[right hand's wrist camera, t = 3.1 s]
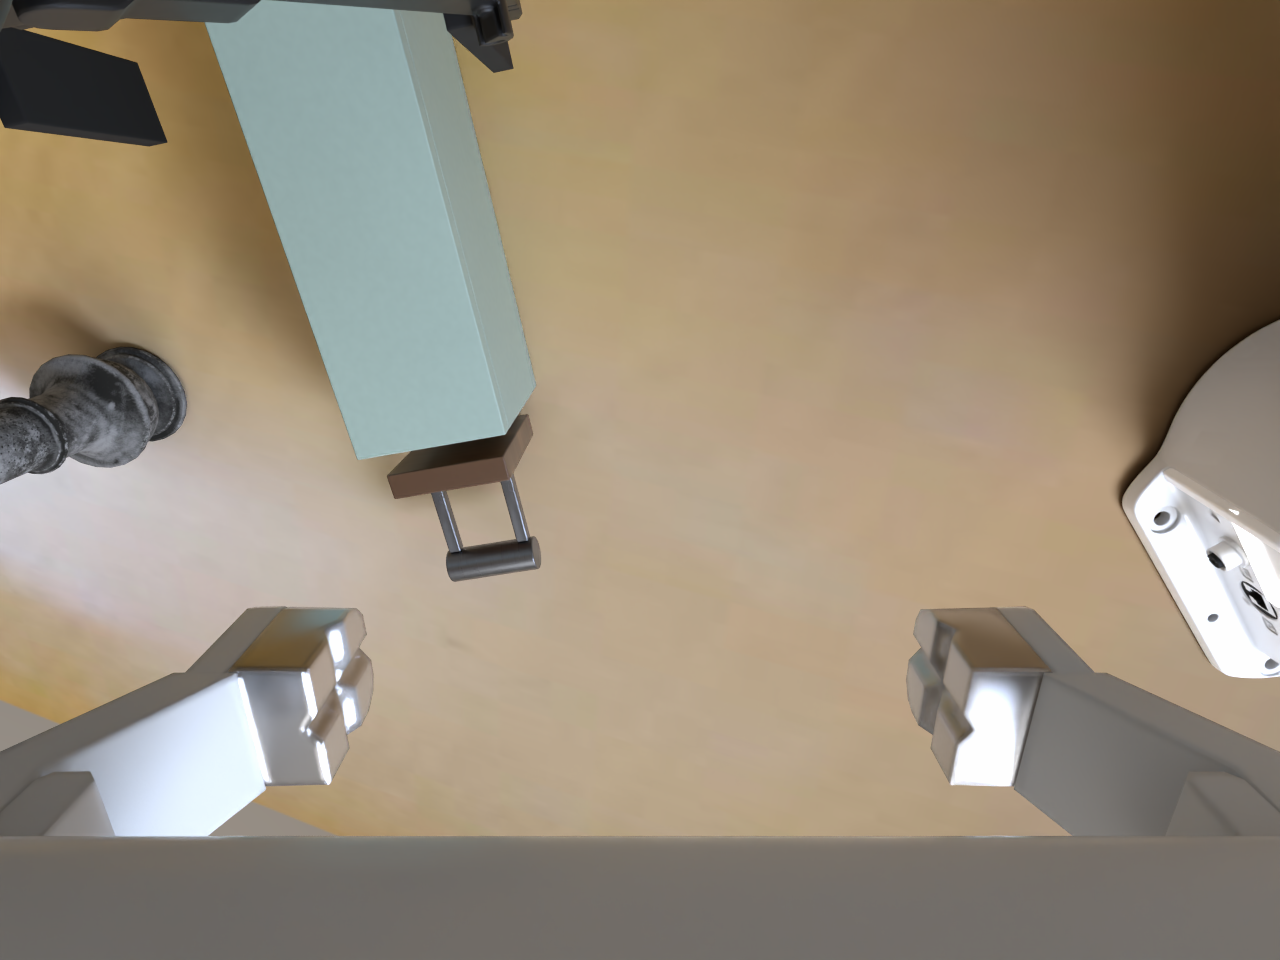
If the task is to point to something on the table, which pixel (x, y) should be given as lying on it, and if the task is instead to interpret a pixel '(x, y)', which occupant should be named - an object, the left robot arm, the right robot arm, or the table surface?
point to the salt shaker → (90, 412)
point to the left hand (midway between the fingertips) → (316, 68)
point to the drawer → (466, 469)
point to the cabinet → (382, 217)
